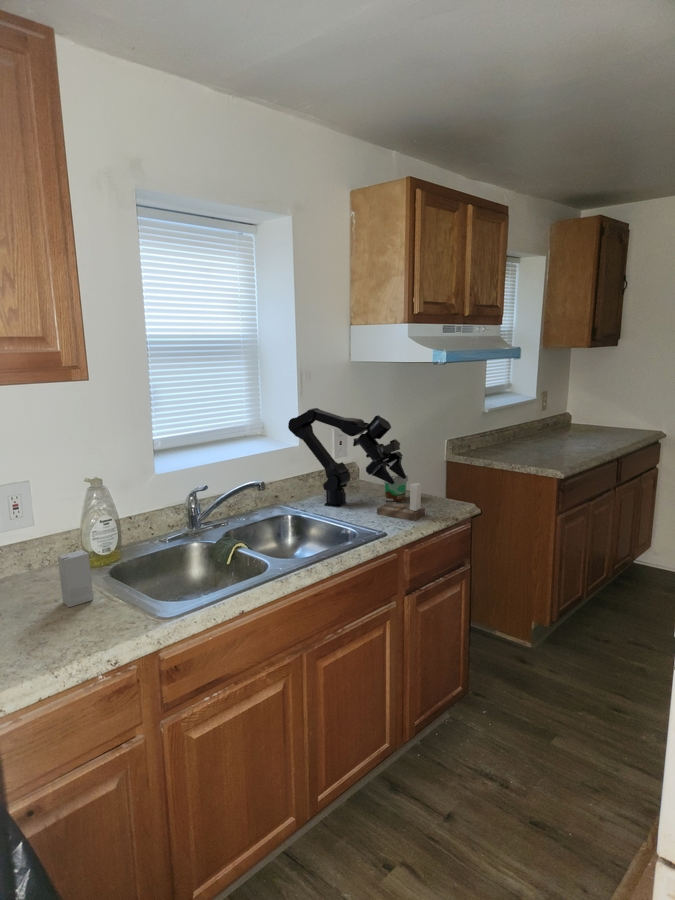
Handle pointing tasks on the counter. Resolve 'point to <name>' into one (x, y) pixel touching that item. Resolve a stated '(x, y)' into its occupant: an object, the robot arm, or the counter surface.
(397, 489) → the food container
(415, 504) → the fader
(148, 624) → the counter surface
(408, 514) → the console
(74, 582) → the skincare box
